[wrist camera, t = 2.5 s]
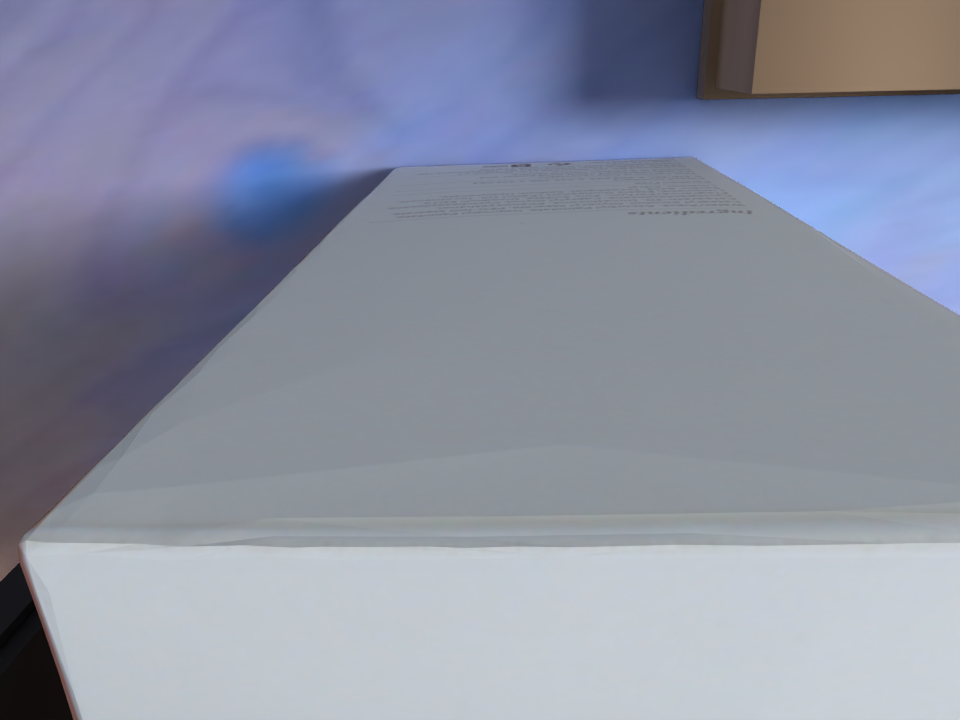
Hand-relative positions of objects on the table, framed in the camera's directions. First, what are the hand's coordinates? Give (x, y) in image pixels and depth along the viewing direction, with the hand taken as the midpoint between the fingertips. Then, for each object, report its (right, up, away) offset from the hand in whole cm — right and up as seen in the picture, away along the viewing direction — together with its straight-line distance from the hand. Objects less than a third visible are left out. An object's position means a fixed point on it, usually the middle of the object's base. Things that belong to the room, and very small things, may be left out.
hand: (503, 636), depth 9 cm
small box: (+1, +4, +8) cm, 9 cm away
